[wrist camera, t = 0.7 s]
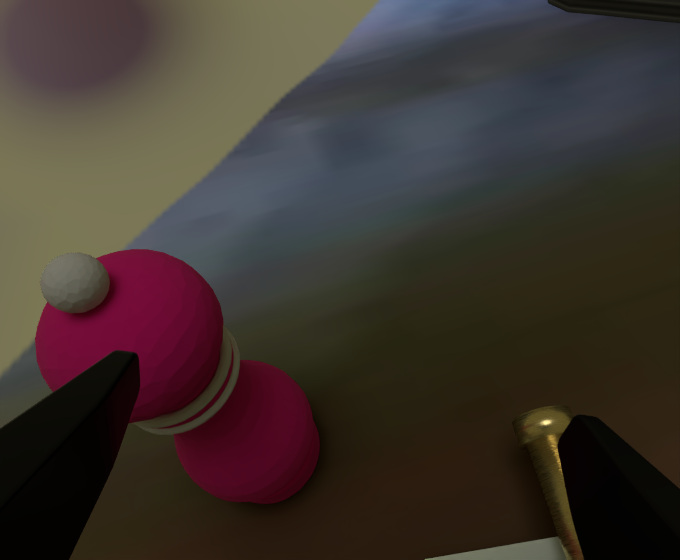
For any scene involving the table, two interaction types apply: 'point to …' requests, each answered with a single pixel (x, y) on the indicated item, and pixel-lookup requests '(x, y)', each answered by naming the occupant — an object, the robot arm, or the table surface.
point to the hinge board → (515, 552)
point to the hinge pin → (550, 467)
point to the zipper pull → (625, 8)
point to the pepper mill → (180, 370)
